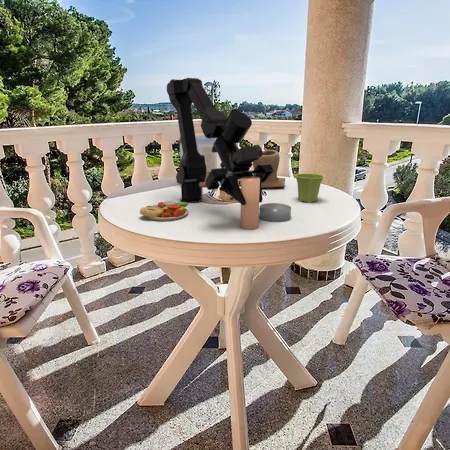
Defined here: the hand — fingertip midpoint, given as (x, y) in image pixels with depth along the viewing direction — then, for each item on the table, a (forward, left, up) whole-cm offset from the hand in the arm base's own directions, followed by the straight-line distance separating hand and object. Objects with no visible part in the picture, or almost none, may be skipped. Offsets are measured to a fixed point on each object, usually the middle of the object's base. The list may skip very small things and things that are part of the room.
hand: (253, 203), depth 84 cm
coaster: (+6, +11, -7) cm, 14 cm away
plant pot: (+18, +32, -7) cm, 37 cm away
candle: (-1, +1, -7) cm, 7 cm away
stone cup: (+5, +52, -7) cm, 52 cm away
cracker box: (-24, +52, -7) cm, 57 cm away
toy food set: (-26, +10, -7) cm, 29 cm away
